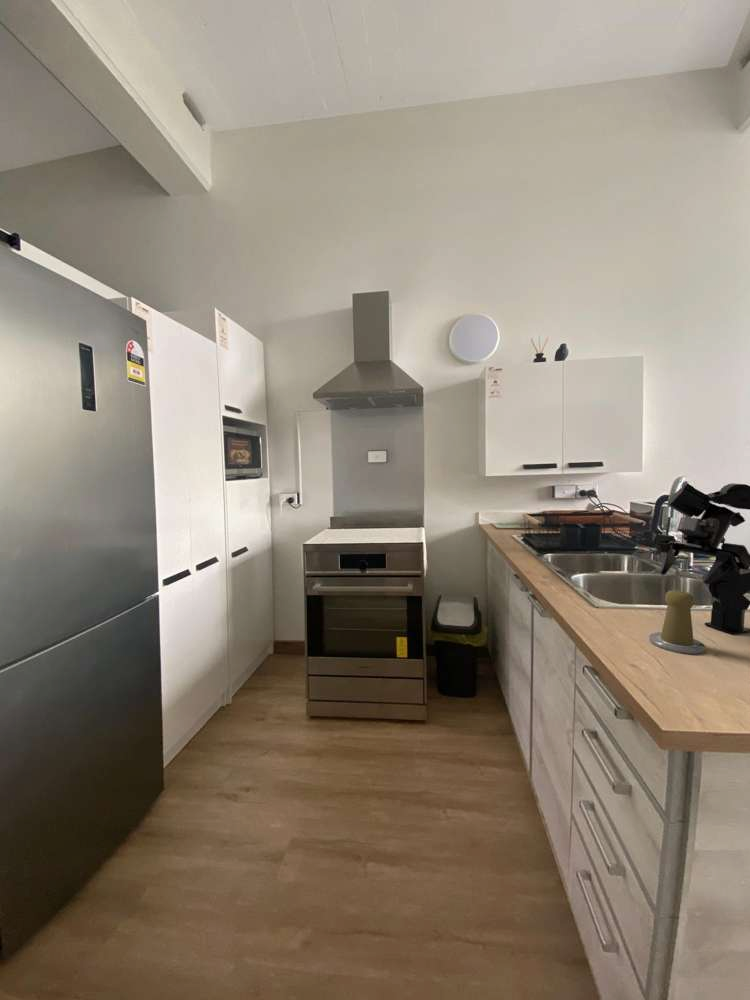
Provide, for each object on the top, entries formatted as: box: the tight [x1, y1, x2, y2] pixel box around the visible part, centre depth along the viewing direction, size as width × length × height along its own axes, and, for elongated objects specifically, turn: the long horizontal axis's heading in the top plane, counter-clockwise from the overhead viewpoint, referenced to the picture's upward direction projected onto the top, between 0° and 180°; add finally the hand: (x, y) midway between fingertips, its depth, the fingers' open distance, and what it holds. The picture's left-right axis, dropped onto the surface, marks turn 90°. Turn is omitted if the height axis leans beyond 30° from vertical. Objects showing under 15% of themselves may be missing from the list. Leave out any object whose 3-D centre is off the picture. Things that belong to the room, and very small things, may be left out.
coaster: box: [648, 631, 706, 655], centre depth 94 cm, size 10×10×1 cm
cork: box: [661, 589, 695, 646], centre depth 94 cm, size 6×6×11 cm
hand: (682, 578), depth 98 cm, fingers open, 9 cm apart
